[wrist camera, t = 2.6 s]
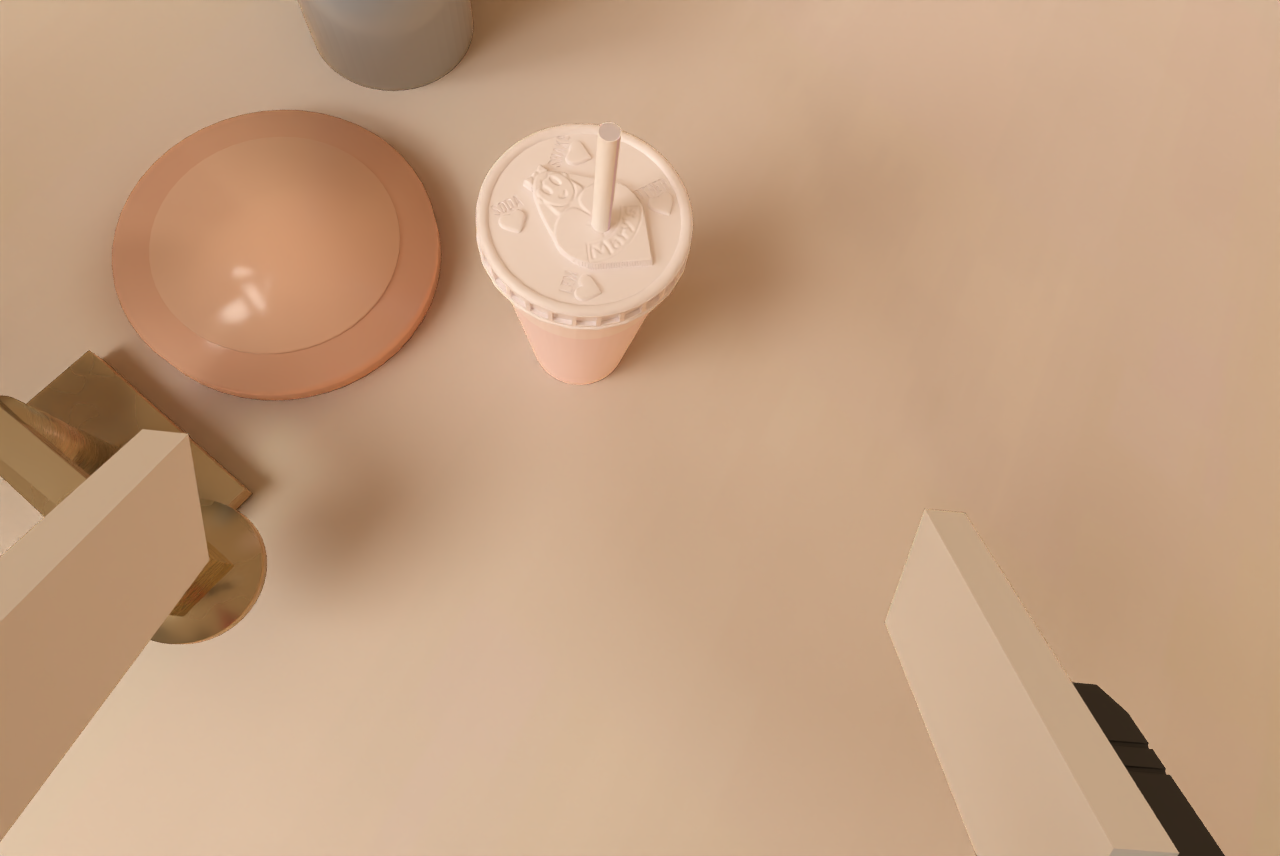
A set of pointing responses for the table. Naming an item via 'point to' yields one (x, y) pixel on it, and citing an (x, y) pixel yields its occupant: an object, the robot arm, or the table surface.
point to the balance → (87, 438)
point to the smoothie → (583, 241)
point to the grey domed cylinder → (390, 39)
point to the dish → (277, 254)
